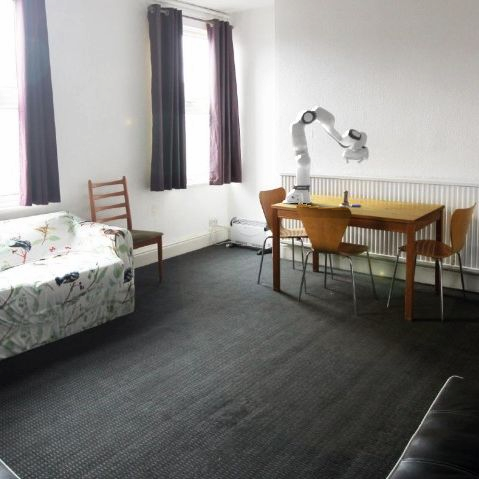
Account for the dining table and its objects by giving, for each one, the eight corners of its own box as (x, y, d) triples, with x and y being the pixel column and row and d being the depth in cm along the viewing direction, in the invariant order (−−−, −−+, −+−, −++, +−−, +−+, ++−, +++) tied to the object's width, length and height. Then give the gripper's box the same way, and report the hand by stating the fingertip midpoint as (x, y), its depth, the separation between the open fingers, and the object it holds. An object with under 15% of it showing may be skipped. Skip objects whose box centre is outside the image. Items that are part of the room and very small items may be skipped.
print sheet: (338, 206, 433) (338, 205, 433) (340, 204, 441) (340, 204, 441) (351, 206, 430) (351, 206, 430) (352, 204, 439) (352, 204, 439)
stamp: (342, 205, 434) (342, 190, 432) (342, 204, 439) (343, 189, 436) (348, 205, 433) (348, 190, 431) (348, 204, 437) (349, 189, 435)
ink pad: (351, 206, 430) (351, 205, 429) (352, 205, 437) (352, 203, 437) (359, 206, 428) (359, 205, 428) (360, 205, 436) (360, 203, 435)
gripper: (343, 146, 451) (339, 160, 444) (369, 147, 440) (364, 160, 434) (345, 152, 455) (341, 165, 449) (370, 152, 445) (366, 166, 439)
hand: (352, 163), depth 441 cm, fingers open, 8 cm apart
